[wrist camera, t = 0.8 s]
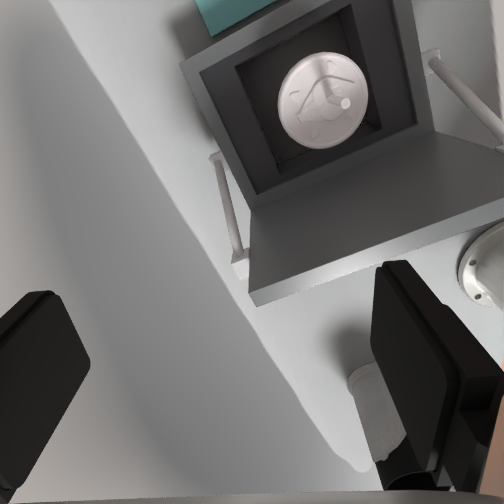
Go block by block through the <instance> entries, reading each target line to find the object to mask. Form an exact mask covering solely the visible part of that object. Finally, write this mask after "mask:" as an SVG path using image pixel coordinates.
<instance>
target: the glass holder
mask: <svg viewBox="0 0 504 504" xmlns="http://www.w3.org/2000/svg"><path fill="white" fill-rule="evenodd" d="M347 388H348V390H349V392H350V393H351V395H352V396H353V398H354V401H355V404H356V407H357V411H358V414H359V417H360V420H361V424H362V427H363V430H364V433H365V437H366V440H367V443H368V446H369V450H370V453H371V456H372V459H373V461H374V462H375V464H376V467H377V470H378V474H379V477H380V480H381V484H382V487H383V490H384V491H394V490H426V491H454V492H456V490H455V488H454V487H453V486H439V487H437V486H436V484H435V482H434V479H433V477H432V475H431V473H430V470H429V471H424V470H423V469H422V468H421V466H420V464H419V462H418V460H417V457H416V455H415V453H414V450H413V448H412V445H411V443H410V441H409V438H408V436H407V433H406V431H405V429H404V426H403V424H402V421H401V419H400V417H399V414H398V412H397V409H396V407H395V405H394V402H393V400H392V397H391V395H390V393H389V390H388V388H387V385H386V383H385V381H384V378H383V376H382V373H381V371H380V369H379V366H378V364H377V362H373V363H368V364H365V365H363V366H361V367H359V368H357V369H356V370H355V371H354V372H353V373H352V374H351V375H350V376H349V378H348V381H347Z"/></svg>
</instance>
